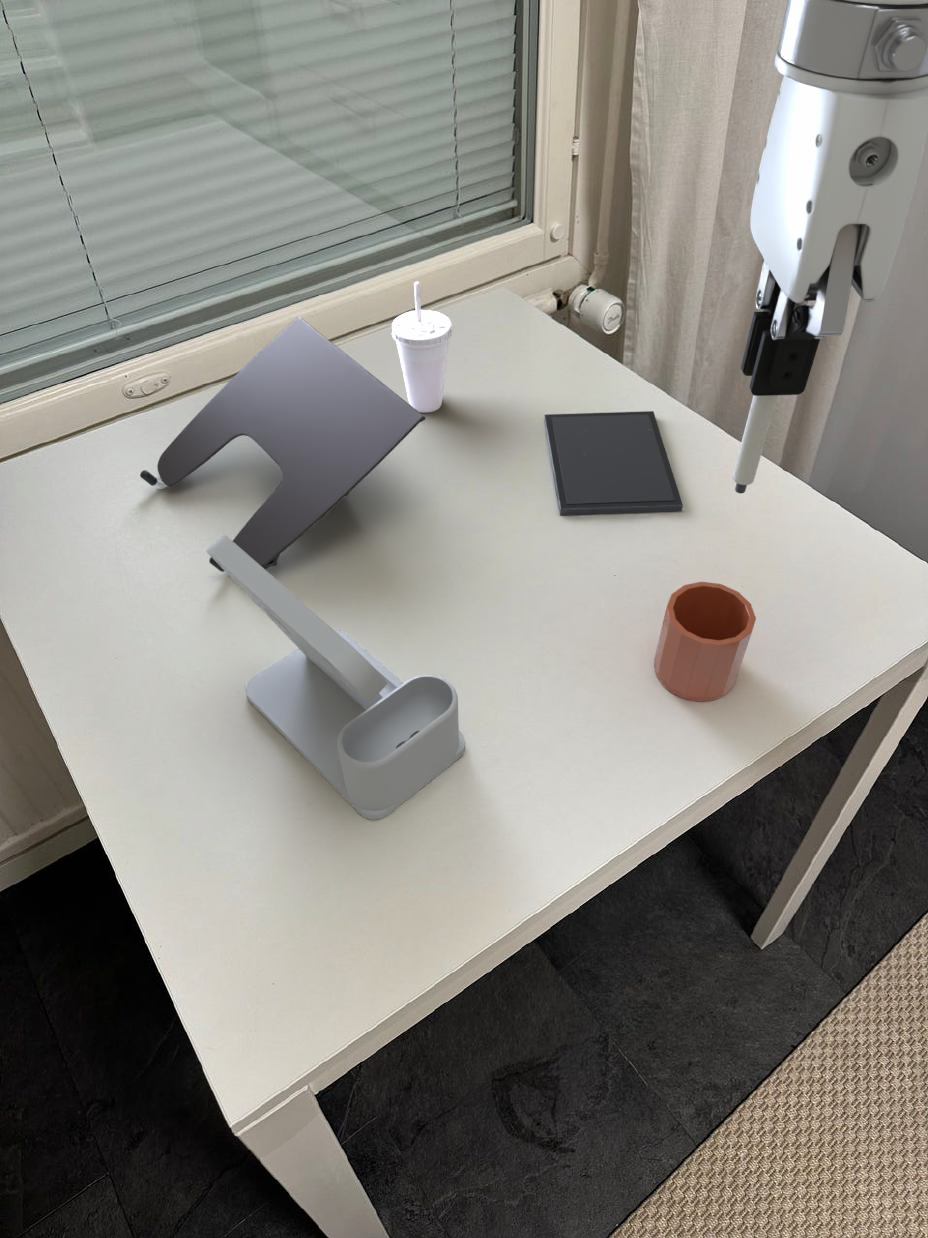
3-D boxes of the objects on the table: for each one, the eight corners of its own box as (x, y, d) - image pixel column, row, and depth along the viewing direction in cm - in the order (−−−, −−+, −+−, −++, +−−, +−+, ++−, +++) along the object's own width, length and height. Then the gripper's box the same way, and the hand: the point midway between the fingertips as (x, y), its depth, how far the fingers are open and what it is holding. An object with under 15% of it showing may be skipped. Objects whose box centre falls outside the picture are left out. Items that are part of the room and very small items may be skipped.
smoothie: (433, 381, 103) (428, 264, 93) (465, 406, 100) (463, 288, 90) (386, 399, 101) (376, 281, 91) (417, 426, 97) (410, 306, 87)
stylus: (747, 483, 61) (801, 289, 51) (752, 496, 60) (808, 301, 50) (727, 484, 61) (776, 290, 51) (732, 497, 60) (783, 302, 50)
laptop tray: (182, 504, 98) (124, 457, 90) (331, 359, 99) (287, 300, 91) (284, 627, 85) (227, 585, 78) (455, 460, 86) (415, 402, 78)
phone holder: (475, 750, 68) (475, 585, 55) (373, 832, 64) (347, 672, 51) (336, 629, 77) (308, 461, 64) (238, 693, 72) (185, 526, 59)
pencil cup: (724, 638, 76) (742, 579, 71) (744, 701, 71) (765, 643, 66) (647, 640, 76) (660, 582, 71) (662, 704, 71) (677, 646, 66)
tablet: (652, 416, 98) (653, 410, 98) (681, 511, 87) (683, 504, 87) (544, 420, 98) (544, 413, 97) (559, 515, 87) (560, 508, 86)
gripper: (1023, 86, 36) (875, 459, 49) (888, -12, 46) (796, 317, 60) (836, 91, 36) (739, 462, 49) (744, -9, 46) (685, 320, 60)
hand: (771, 381), depth 54 cm, fingers closed on stylus, 1 cm apart
